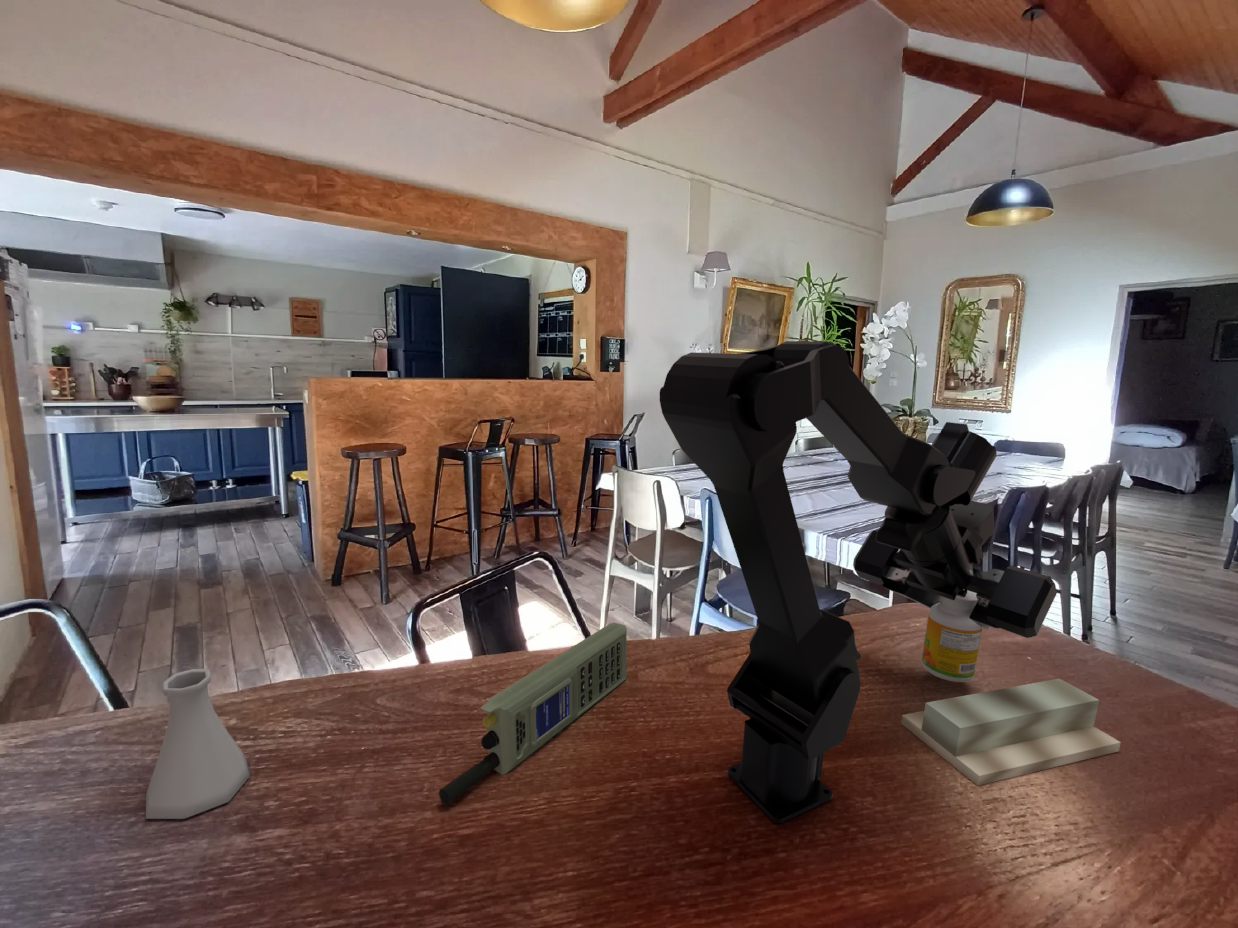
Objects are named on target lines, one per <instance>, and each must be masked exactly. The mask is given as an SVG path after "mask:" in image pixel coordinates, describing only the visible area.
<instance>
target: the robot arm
mask: <svg viewBox="0 0 1238 928" xmlns="http://www.w3.org/2000/svg"><path fill="white" fill-rule="evenodd" d="M664 379H665V381H664V383H663V386H662V387H661V388H660V389H659V405H660V409H661V413H662V415H663V418H664V420H665V422H666V424H667V426H668V428H669V429H670V430H671V432H672V433H671V434H673V436H674V438H675V440H676V442H677V443H678V445H679V448H680V449H681V450H682V452H683V453H685V455H686V456H687V457H688V458H689V459H690V460H691V461H692V462H693V464H695V465H696V466H697V468H699V470H701V472H703V474H704V475H705V476H706V477H707V478H708V479H709V481H711V484H712V485H713V487H714V491H715V493H716V497H717V500H718V502H719V506H720V509H721V512H722V515H723V517H724V521H725V525H726V527H727V530H728V533H729V536H730V540H731V542H732V545H733V549H734V551H735V555H736V557H737V560H738V563H739V567H740V570H741V572H742V576H743V579H744V581H745V584H746V588H747V591H748V594H749V596H750V600H751V603H752V606H753V609H754V612H755V616H756V618H757V621H758V623H757V627H755V629H754V632H753V633H752V635H751V638H750V639H749V643H748V645H749V654H748V656H747V658H746V659H745V660H744V662H743V663H742V665H741V666H740V668H739V669H738V671H737V673H736V674H735V676H734V677H733V679H732V680H731V682H730V683H729V685H728V686H727V689H726V693H727V697H728V701H729V705H730V707H732V708H733V709H734V710H737V711H739V712H741V713H742V714H744V715H745V716H746V717H748V719H746V720H744V724H743V725H744V727H743V738H742V748H741V761H740V762H738V763H736V764H732V765H731V766H729V767H728V768H727V776H729V777H730V779H732V781H733V782H734V783H735V784H736V785H737V786H739V788H740V789H741V790H742V791H743V792H744V793H745V794H746V795H747V796H748V797H749V798H750V799H751V800H752V801H753V802H754V803H755V804H756V805H757V806H758V807H759V808H760V810H762V811H763V813H765V814H766V815H767V817H769V818H770V820H772V821H773V822H774V823H776V824H783V823H785V822H787V821H789V820H791V819H793V818H796V817H797V816H799V815H801V814H803V813H805V812H808V811H809V810H812V809H814V808H816V807H819V806H821V805H822V804H825V803H827V802H829V801H831V800H832V799H833V791H832V790H831V789H830V788H829V787H827V785H825V784H824V783H823V782H822V781H821V780H820V779H819V778H820V777H821V776H822V769H823V761H824V760H823V759H824V753H826V752H827V751H829V750H830V749H833V747H835V746H837V745H839V744H840V743H842V742H844V740H845V738H846V735H847V731H848V728H849V726H850V722H851V719H852V717H853V713H854V709H855V707H856V704H857V702H858V701H857V700H858V698H859V694H860V691H861V684H862V683H861V677H860V668H859V665H858V660H861V657H862V655H861V653H860V652H859V651H858V649H857V646H856V638H855V631H854V630H855V629H854V628H853V627H852V624H851V623H850V621H848V620H847V619H845V618H843V617H840V616H837V615H835V614H833V613H830V612H829V611H826V610H824V609H821V608H820V607H819V603H818V598H817V594H816V590H815V587H814V583H813V579H812V576H811V571H810V567H809V563H808V560H807V555H806V551H805V548H804V545H803V541H802V536H801V533H800V530H799V525H798V521H797V518H796V514H795V510H794V506H793V502H792V498H791V494H790V490H789V486H788V483H787V479H786V476H785V475H786V474H785V472H784V471H785V470H784V463H785V460H786V457H787V455H788V454H789V451H790V448H791V446H792V443H793V441H794V439H795V436H796V434H797V431H798V430H797V422H800V421H802V420H804V419H807V421H808V422H810V424H812V426H813V427H814V428H815V429H816V430H817V431H818V432H819V433H820V434H821V435H822V436H823V437H824V438H825V439H826V440H827V441H828V442H829V443H830V444H831V445H832V447H834V448H835V449H836V450H837V451H838V453H840V455H842V457H844V459H845V460H846V461H847V462H848V464H849V469H848V472H847V477H848V478H847V479H848V480H849V481H850V483H851V485H852V487H853V489H854V490H855V491H856V493H857V494H858V495H857V496H859V498H860V499H862V500H864V501H865V502H869V503H873V504H878V505H880V506H881V505H882V506H885V507H886V508H885V510H884V519H883V522H882V523H881V525H880V527H879V528H877V529H873V530H872V531H871V532H869V533H868V535H867V537H866V538H865V540H864V542H863V543H862V545H861V547H860V548H859V549H858V551H857V553H856V555H855V557H854V558H853V564H852V567H853V569H854V571H855V573H856V575H857V577H858V578H859V579H862V580H864V581H868V582H870V583H873V584H876V585H878V586H880V585H882V587H883V588H884V589H886V590H888V591H891V592H893V593H895V594H898V595H900V596H902V597H905V598H907V599H909V600H911V601H914V602H916V603H918V604H920V605H923V606H924V607H927V608H929V609H930V608H931V607H932V606H933V605H935V604H938V603H940V602H939V601H938V596H942V597H945V598H948V599H951V600H954V599H955V598H956V596H960V597H965V596H966V594H967V590H968V591H971V592H974V593H976V597H977V599H978V601H977V603H976V605H975V607H974V609H973V611H972V613H971V615H970V617H969V619H971V620H972V621H974V622H975V623H977V624H978V625H980V626H981V627H982V629H986V630H988V629H989V627H991V628H993V629H1001V630H1005V631H1008V632H1009V633H1012V634H1015V635H1018V636H1021V637H1022V638H1023V637H1024V638H1027V639H1030V638H1033V637H1036V636H1038V634H1039V632H1040V630H1041V628H1042V625H1043V624H1044V621H1045V619H1046V617H1047V615H1048V613H1049V611H1050V608H1051V606H1052V605H1053V602H1054V600H1055V598H1056V596H1057V594H1058V591H1057V586H1056V584H1055V582H1054V580H1053V579H1052V577H1051V575H1046V574H1043V573H1039V572H1035V571H1033V570H1028V569H1025V568H1022V567H1018V566H1014V565H1010V566H1008V567H1006V568H1005V570H1002V569H998V568H992V569H989V570H988V571H984V570H980V569H977V568H974V567H973V566H974V565H980V564H981V562H982V559H983V558H984V553H983V549H982V547H983V546H984V544H985V543H986V542H987V541H988V540H989V539H990V537H992V536H993V535H994V534H995V514H994V513H995V512H994V506H993V505H991V504H989V503H985V502H979V501H977V500H973V498H974V496H975V495H976V492H978V489H979V488H980V485H981V484H982V482H983V480H984V479H985V477H986V475H987V474H988V472H989V470H990V468H991V466H992V464H994V461H995V459H996V458H997V449H996V447H995V446H994V445H992V444H991V442H989V441H988V440H987V439H985V438H984V437H983V436H981V435H980V434H977V433H975V432H973V431H970V429H969V427H968V424H967V423H960V422H959V423H957V422H951V421H947V422H945V424H944V425H943V427H942V428H941V431H940V432H938V434H937V436H936V437H935V438H934V439H933V441H932V443H928V442H926V441H924V440H921V439H918V438H916V437H913V436H911V435H909V434H906V433H905V432H904V431H902V430H901V429H900V427H899V426H898V425H897V424H896V423H895V422H894V419H892V417H891V416H890V415H889V413H887V411H886V410H885V409H884V407H883V406H882V405H881V404H880V402H879V401H878V400H877V399H876V398H875V396H874V395H873V394H872V392H871V391H870V390H869V389H868V388H867V386H866V385H865V384H864V382H863V381H862V380H861V379H860V377H859V376H858V375H857V373H855V371H854V370H853V369H852V367H851V366H850V360H849V355H848V353H847V351H846V349H845V348H844V347H842V346H841V345H837V344H835V343H834V342H832V341H827V340H825V341H820V340H819V341H816V340H815V341H813V340H812V341H811V340H809V341H807V340H803V341H801V340H797V341H796V340H793V341H792V340H791V341H789V340H786V341H784V342H781V343H780V344H776V345H773V346H769V347H766V348H763V349H758V350H757V349H756V350H752V351H745V352H740V353H739V352H737V353H728V352H727V353H720V352H689V353H687V354H684V355H682V356H680V357H679V358H678V359H677V360H676V361H675V362H673V364H672V365H671V367H670V369H669V370H668V372H667V374H666V377H665V378H664Z"/></svg>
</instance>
